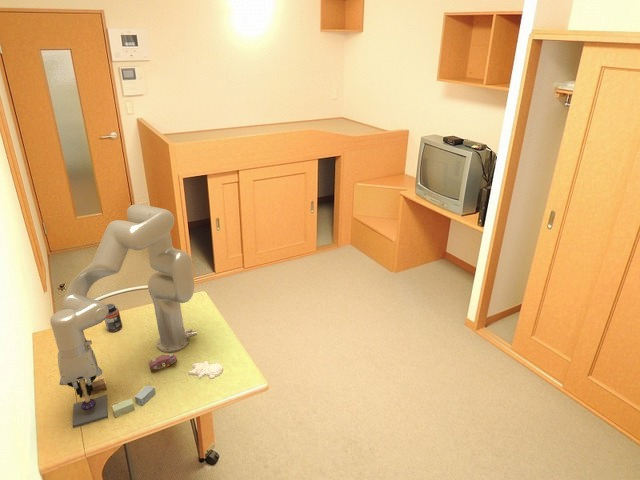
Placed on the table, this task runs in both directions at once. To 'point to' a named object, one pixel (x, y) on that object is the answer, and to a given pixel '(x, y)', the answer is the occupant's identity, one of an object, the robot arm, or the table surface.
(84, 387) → the toy lamp
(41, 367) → the table surface
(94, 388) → the brick
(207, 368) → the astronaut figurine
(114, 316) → the supplement bottle
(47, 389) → the table surface
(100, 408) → the pad
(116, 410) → the brick
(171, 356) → the video game controller
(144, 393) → the brick
